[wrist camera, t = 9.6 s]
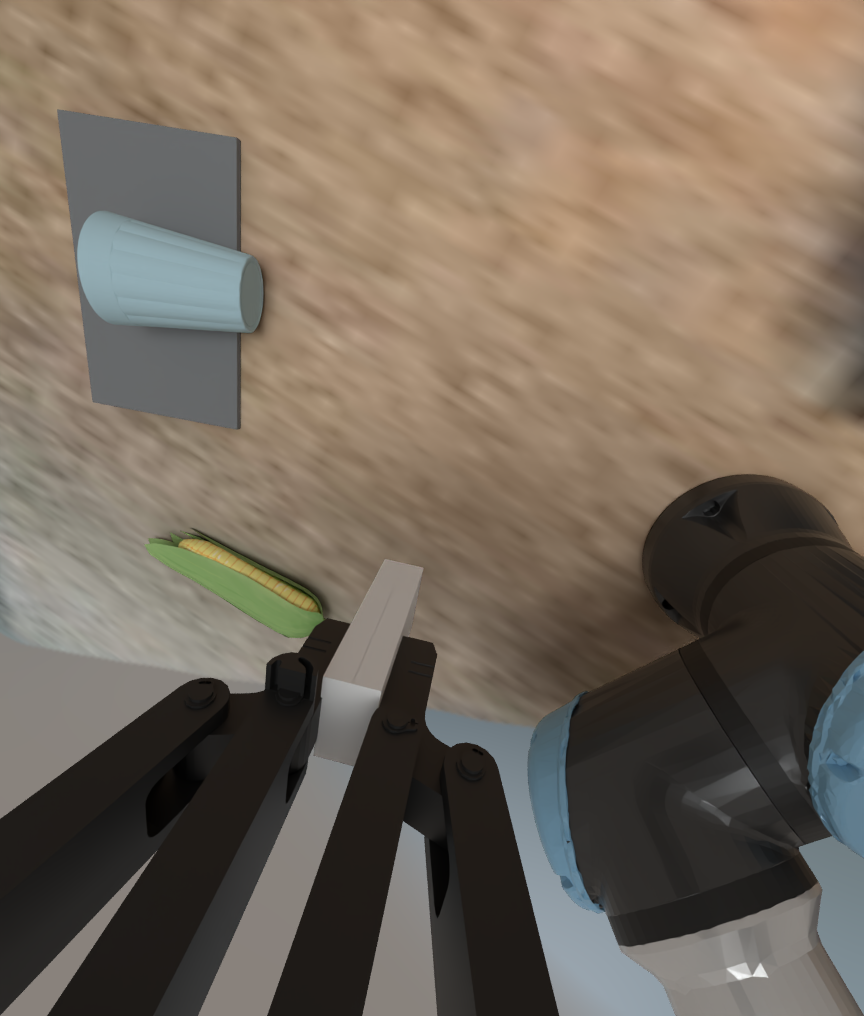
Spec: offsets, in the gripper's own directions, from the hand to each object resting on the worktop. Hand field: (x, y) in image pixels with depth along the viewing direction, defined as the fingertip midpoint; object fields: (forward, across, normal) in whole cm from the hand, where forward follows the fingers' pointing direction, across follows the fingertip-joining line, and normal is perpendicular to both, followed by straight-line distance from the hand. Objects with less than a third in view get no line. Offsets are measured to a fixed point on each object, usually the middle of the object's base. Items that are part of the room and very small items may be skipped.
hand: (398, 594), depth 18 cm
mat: (+25, +27, -8) cm, 38 cm away
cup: (+22, +17, -9) cm, 29 cm away
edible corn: (+26, +19, +17) cm, 37 cm away
